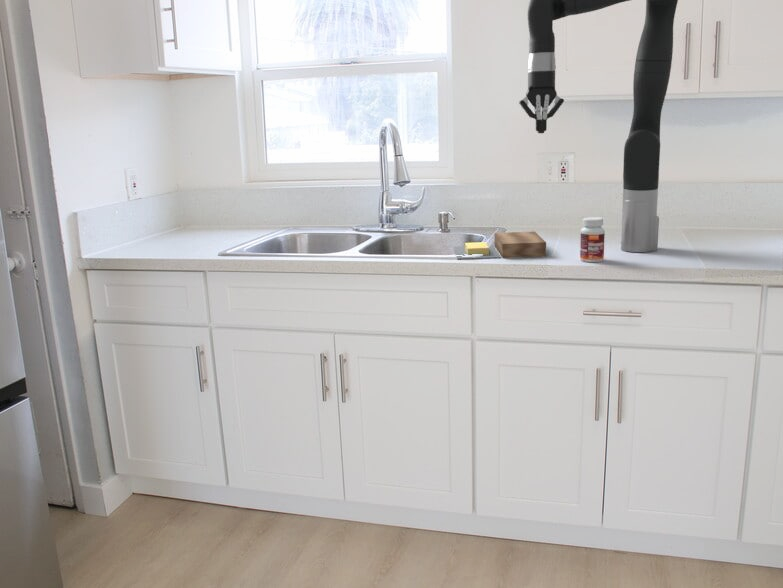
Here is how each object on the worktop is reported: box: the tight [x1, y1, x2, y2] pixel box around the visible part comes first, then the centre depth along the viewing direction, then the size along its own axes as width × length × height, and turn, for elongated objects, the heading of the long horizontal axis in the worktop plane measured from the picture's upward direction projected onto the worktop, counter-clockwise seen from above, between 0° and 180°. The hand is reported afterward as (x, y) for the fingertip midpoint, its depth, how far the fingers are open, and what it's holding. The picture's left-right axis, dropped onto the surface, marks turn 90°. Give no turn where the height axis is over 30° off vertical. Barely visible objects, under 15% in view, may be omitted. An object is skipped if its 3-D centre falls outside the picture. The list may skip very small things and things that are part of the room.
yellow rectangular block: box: [464, 241, 489, 255], centre depth 215 cm, size 6×9×2 cm, turn 0°
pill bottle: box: [579, 216, 606, 263], centre depth 199 cm, size 6×6×11 cm
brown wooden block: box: [494, 231, 547, 259], centre depth 216 cm, size 12×18×4 cm, turn 179°
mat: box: [452, 244, 502, 260], centre depth 217 cm, size 12×18×1 cm, turn 179°
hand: (540, 133), depth 214 cm, fingers closed
